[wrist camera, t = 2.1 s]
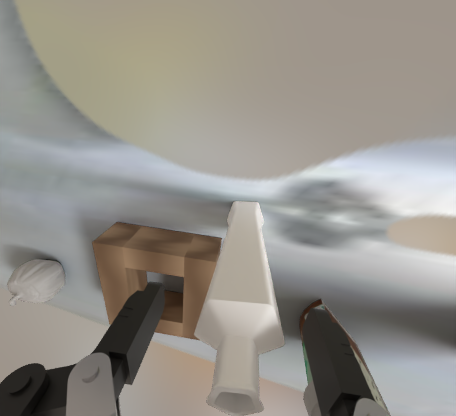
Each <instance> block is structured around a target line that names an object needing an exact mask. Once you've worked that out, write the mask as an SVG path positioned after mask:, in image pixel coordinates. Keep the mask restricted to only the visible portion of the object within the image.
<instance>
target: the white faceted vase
mask: <svg viewBox="0 0 456 416" xmlns="http://www.w3.org/2000/svg"><path fill="white" fill-rule="evenodd" d="M227 223H228V226H229V228H228V231H227V234H226V237H225V240H224V243H223V246H222V249H221V252H220V255H219V258H218V261H217V265H216V268H215V271H214V274H213V277H212V280H211V283H210V286H209V289H208V292H207V295H206V298H205V302H204V305H203V308H202V311H201V314H200V317H199V320H198V323H197V326H196V329H195V332H194V335H195V337H197V338H198V339H200V340H201V341H203V342H204V343H206V344H208V345H209V346H211V347H213V348H214V349H216V350H217V356H216V363H215V370H214V377H213V384H212V391H211V393H210V394H209V396H208V398H207V400H206V402H207V404H208V405H210V406H212V407H214V408H216V409H218V410H220V411H222V412H224V413H226V414H228V415H231V416H244V415H248V414H254V413H259V412H262V411H263V409H264V407H263V404H262V402H261V400H260V398H259V361H258V355H260V354H263V353H265V352H268V351H271V350H274V349H277V348H279V347H282V346H284V345H285V341H284V336H283V331H282V326H281V321H280V317H279V312H278V307H277V302H276V297H275V293H274V288H273V283H272V278H271V273H270V268H269V264H268V259H267V254H266V249H265V244H264V240H263V235H262V230H261V228H262V226H263V224H264V219H263V216H262V212H261V209H260V205H259V203H258V202H246V201H234V202H233V204H232V207H231V210H230V212H229V215H228V218H227Z"/></svg>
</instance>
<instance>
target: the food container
mask: <svg viewBox="0 0 456 416" xmlns="http://www.w3.org/2000/svg"><path fill="white" fill-rule="evenodd" d="M310 308H317V309H324V310H327V311H328V313H329V315H330V318H331V320H332V322H335V323H338V324H339V326H340V327H341V328H342V330H343V331H344V332H345V333H346V335H347V338H348V340H349V342H350V345H351V347H352V349H353V352H354V354H355V357H356V358H357V361H358V363H359V365H360V368H361V370H362V372H363V374H364V377H365V379H366V381H367V384H368V386H369V388H370V391H371V393H372V395H373V397H374V399H375V401H376V402H377V403H378V404H379V405H380V406H382V407H383V408H384V409H385V410H386V411H387V413H388V414H389V415H390V413H389V411H388V409H387V407H386V405H385V403H384V401H383V399H382V396H381V394H380V392H379V390H378V388H377V386H376V384H375V382H374V380H373V377H372V375H371V373H370V371H369V369H368V367H367V365H366V363H365V361H364V358H363V356H362V354H361V352H360V350H359V348H358V346H357V344H356V342H355V340H354V339H353V338H352V337H351V335H350V334H349V333H348V332H347V330H346V329H345V328H344V327H343V326H342V324H341V323H340V322H339V321H338V319H337V318H336V317H335V316H334V314H333V313H332V312H331V311H330V309H329V308H328V307H327V306H326V304H325V303H324V302H323V301H322V299H320V300H318V301H316V302H314V303H312V304H311V305H310V306H308V307H307V308H306V309H305V310H304V312H303V313H302V315H301V317H300V324H299V325H300V332H301V339H302V346H303V353H304V360H305V367H306V374H307V381H308V386H307V387H306V389H305V392H304V403H305V406H306V409H307V412H308V415H309V416H321V412H320V408H319V404H318V400H317V396H316V391H315V387H314V383H313V379H312V375H311V370H310V366H309V362H308V358H307V354H306V349H305V345H304V341H303V336H302V328H303V324H304V322H305V320H306V317H307V315H308V313H309V310H310ZM390 416H391V415H390Z"/></svg>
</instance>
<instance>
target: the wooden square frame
mask: <svg viewBox="0 0 456 416" xmlns="http://www.w3.org/2000/svg"><path fill="white" fill-rule="evenodd" d="M221 240H222V238H217V237H211V236H204V235H198V234H191V233H185V232H178V231H172V230H165V229H159V228H152V227H146V226H139V225H133V224H126V223H120V222H116V223H115V224H114V225H113V226H111V227H110V228H109V229H108V230H107V231H105V232H104V233H103V234H102V235H100V236H99V237H98V238H97V239H95V240H94V241H93V242H92V245H93V249H94V254H95V259H96V263H97V268H98V273H99V277H100V282H101V287H102V291H103V296H104V301H105V305H106V310H107V315H108V319H109V324H112V322H113V321H114V319H115V318H116V317H117V315H118V313H119V312H120V310H121V309H122V307H123V305H124V304H125V302H126V301H127V299H128V298H129V297H130V296H131V295H132V294H134V293H135V292H136V291H137V290H139V291H144V289H145V288H146V286H147V274H146V271H150V272H156V273H162V274H168V275H174V276H180V277H184V291H183V293H177V292H171V291H165V290H164V294H165V305H164V310H163V313H162V316H161V318H160V320H159V323H158V325H157V327H156V330H155V332H157V333H162V334H168V335H173V336H179V337H185V338H190V339H196V340H200V339H198V338H197V337H195V335H194V332H195V329H196V326H197V323H198V320H199V317H200V314H201V311H202V308H203V305H204V302H205V298H206V295H207V292H208V289H209V286H210V283H211V280H212V277H213V274H214V271H215V268H216V265H217V261H218V258H219V255H220V248H221Z"/></svg>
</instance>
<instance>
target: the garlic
mask: <svg viewBox="0 0 456 416" xmlns="http://www.w3.org/2000/svg"><path fill="white" fill-rule="evenodd" d="M64 284H65V273H64V271H63V269H62V266H61V264H60V263H59V262H56V261H51V260H41V259H35V260H30V261H28V262H26V263H24V264H22V265H21V266H19V267H18V268H16V269H15V270H14V272H13V273H12V275H11V277H10V279H9V280H8V283H7V285H8V289H9V291H10V292H11V293H12V295H14V297H12V298H11V299H10V301H9V304H10V306H14V305H16V301H15V300H17V299H18V300H21V301H23V302H31V303H43V302H47V301H49V300H51V299H52V298H53V297H54V296H55V295H56V294H57V293H58V291H59V290H60V289H61V288H62V287H63V286H64Z"/></svg>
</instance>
